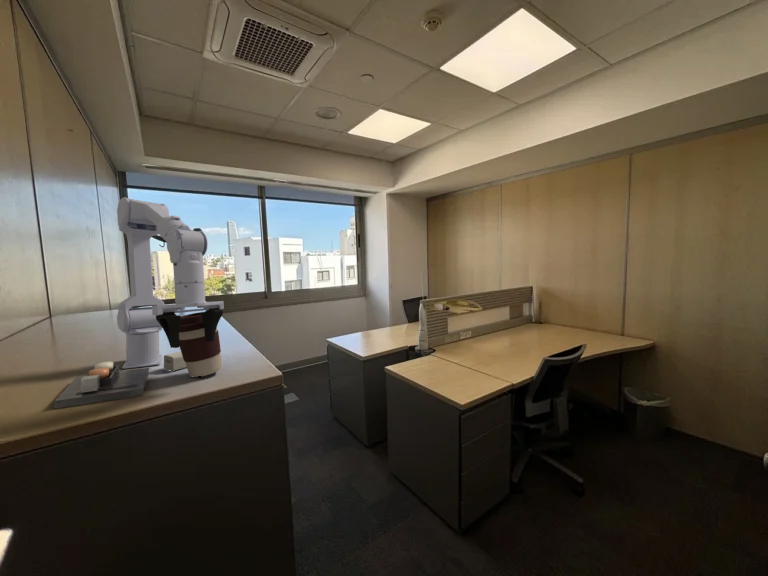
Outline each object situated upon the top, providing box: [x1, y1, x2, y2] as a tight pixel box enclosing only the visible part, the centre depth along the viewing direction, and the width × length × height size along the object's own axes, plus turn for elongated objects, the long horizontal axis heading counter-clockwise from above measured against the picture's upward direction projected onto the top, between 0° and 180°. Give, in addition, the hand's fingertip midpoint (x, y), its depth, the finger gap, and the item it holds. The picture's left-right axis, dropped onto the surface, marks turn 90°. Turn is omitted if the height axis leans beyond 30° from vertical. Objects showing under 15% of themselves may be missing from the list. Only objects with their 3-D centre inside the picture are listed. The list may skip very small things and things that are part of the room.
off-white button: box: [94, 361, 114, 371], centre depth 71 cm, size 3×3×2 cm
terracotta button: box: [88, 368, 109, 379], centre depth 67 cm, size 3×3×2 cm
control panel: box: [54, 365, 150, 410], centre depth 68 cm, size 15×13×3 cm
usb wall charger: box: [163, 351, 187, 372], centre depth 84 cm, size 4×7×4 cm, turn 156°
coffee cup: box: [178, 311, 222, 378], centre depth 78 cm, size 10×10×15 cm
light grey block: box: [81, 375, 99, 393], centre depth 62 cm, size 2×2×3 cm
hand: (193, 344), depth 69 cm, fingers open, 7 cm apart
